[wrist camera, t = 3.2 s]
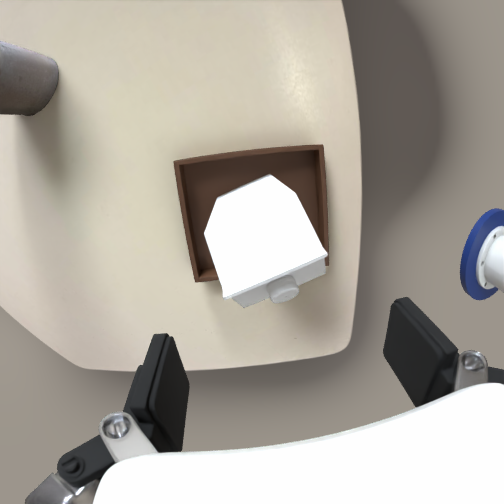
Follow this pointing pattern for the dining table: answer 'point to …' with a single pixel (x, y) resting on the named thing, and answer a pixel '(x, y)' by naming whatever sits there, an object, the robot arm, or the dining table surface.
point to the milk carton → (263, 243)
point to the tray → (238, 174)
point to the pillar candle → (25, 80)
